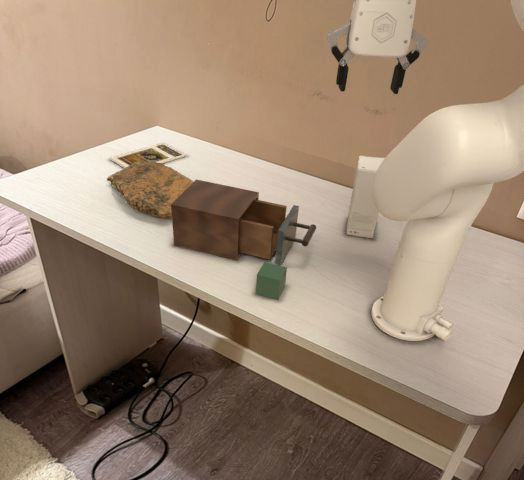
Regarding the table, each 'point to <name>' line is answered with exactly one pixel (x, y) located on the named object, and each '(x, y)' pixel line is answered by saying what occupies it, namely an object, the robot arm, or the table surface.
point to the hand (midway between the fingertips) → (367, 90)
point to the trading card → (148, 155)
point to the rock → (150, 187)
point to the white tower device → (363, 199)
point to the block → (271, 280)
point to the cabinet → (210, 218)
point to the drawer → (270, 230)
